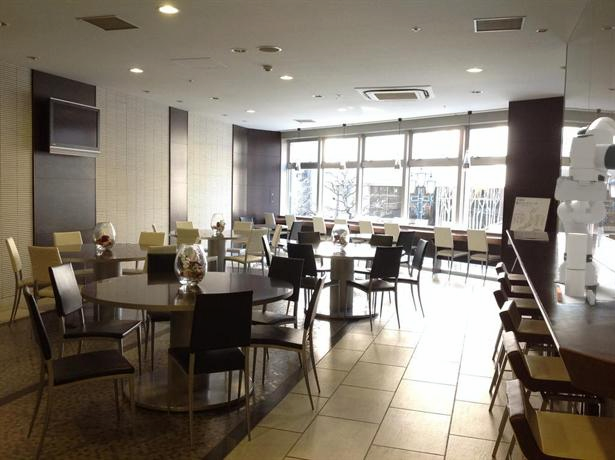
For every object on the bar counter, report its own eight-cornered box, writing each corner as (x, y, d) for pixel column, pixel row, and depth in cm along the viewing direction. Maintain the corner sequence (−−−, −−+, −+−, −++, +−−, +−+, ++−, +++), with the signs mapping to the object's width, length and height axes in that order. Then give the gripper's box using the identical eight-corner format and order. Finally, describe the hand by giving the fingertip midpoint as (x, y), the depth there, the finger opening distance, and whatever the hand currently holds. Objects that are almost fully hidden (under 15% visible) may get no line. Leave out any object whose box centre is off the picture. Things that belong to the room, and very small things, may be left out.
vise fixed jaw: (586, 298, 211) (587, 289, 211) (590, 298, 211) (591, 290, 210) (590, 304, 198) (590, 295, 198) (594, 305, 198) (595, 295, 198)
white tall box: (580, 294, 221) (583, 233, 219) (587, 297, 214) (590, 234, 212) (561, 293, 222) (565, 233, 220) (568, 296, 215) (571, 234, 213)
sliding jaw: (555, 292, 222) (555, 284, 222) (558, 292, 221) (559, 285, 221) (557, 300, 203) (557, 292, 202) (561, 301, 202) (561, 292, 202)
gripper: (563, 175, 199) (561, 212, 199) (610, 177, 203) (608, 214, 204) (552, 175, 205) (549, 212, 205) (598, 177, 209) (596, 213, 210)
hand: (579, 213), depth 205 cm, fingers open, 7 cm apart
